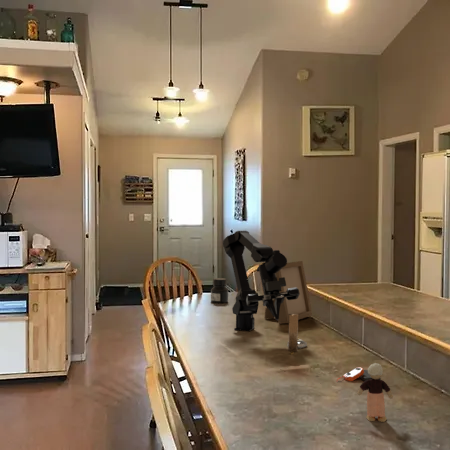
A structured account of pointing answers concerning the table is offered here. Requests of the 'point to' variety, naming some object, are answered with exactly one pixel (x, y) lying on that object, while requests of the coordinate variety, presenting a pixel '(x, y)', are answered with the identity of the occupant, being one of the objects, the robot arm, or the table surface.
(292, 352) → the stand plate
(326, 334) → the table surface
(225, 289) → the ink bottle
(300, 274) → the photo frame
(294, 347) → the brown cylinder with ball
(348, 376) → the multimeter
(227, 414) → the table surface
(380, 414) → the grandmother figurine
